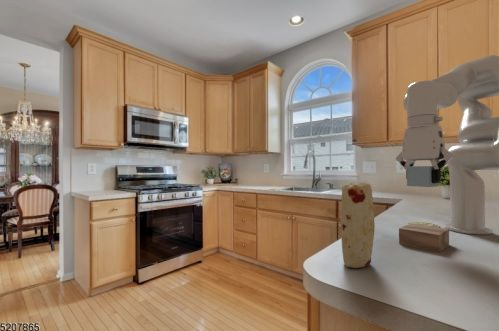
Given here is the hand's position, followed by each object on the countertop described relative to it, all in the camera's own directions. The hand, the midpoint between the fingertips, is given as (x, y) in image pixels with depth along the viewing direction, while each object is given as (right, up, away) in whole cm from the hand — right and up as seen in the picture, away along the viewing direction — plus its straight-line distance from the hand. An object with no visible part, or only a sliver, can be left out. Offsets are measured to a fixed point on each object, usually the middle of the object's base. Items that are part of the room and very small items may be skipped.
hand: (422, 181), depth 75 cm
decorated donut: (+8, -19, +12) cm, 24 cm away
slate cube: (0, -1, 0) cm, 1 cm away
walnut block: (0, -19, 0) cm, 19 cm away
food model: (-27, -19, -16) cm, 36 cm away
